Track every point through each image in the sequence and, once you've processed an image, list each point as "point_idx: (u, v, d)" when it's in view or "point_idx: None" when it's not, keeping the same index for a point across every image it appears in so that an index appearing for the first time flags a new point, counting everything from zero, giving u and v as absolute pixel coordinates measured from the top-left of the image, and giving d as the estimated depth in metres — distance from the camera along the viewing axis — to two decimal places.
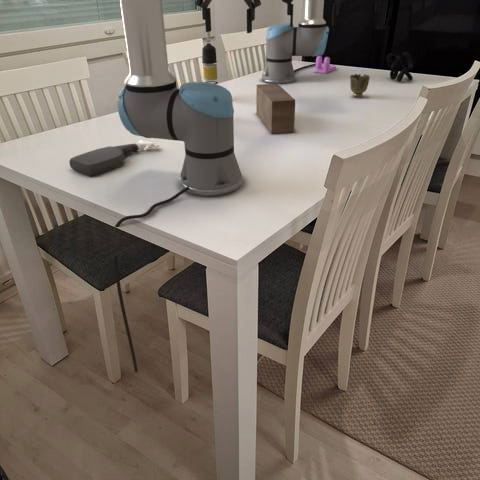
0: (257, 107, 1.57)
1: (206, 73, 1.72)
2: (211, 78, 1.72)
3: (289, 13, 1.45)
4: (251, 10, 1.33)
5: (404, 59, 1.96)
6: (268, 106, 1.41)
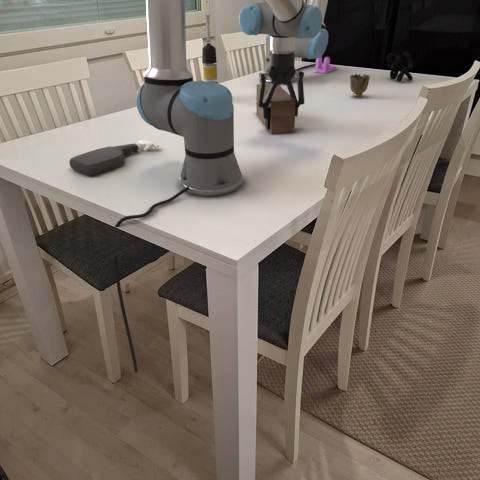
0: (257, 107, 1.57)
1: (206, 73, 1.72)
2: (211, 78, 1.72)
3: None
4: (295, 107, 1.41)
5: (404, 59, 1.96)
6: (268, 106, 1.41)
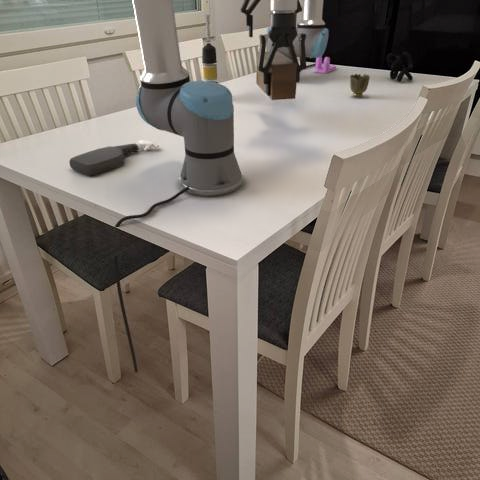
0: (257, 76, 1.51)
1: (206, 73, 1.72)
2: (211, 78, 1.72)
3: None
4: None
5: (404, 59, 1.96)
6: None
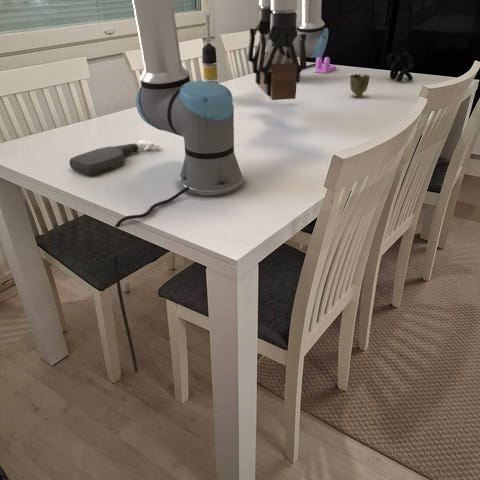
0: None
1: (206, 73, 1.72)
2: (211, 78, 1.72)
3: None
4: None
5: (404, 59, 1.96)
6: None
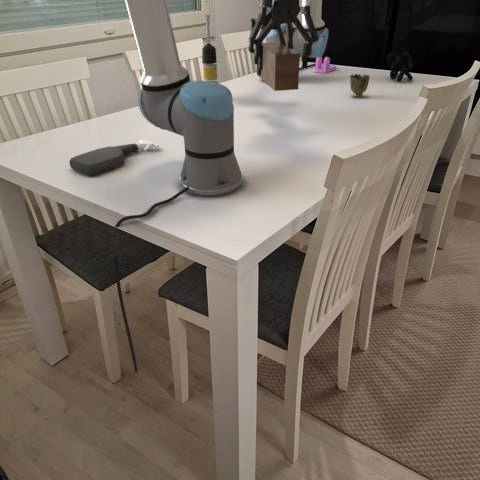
0: None
1: (206, 73, 1.72)
2: (211, 78, 1.72)
3: None
4: (309, 45, 1.29)
5: (404, 59, 1.96)
6: (271, 61, 1.34)
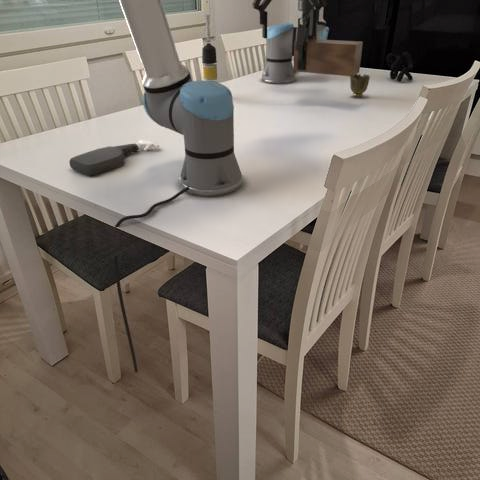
0: (297, 63, 1.63)
1: (206, 73, 1.72)
2: (211, 78, 1.72)
3: None
4: (317, 11, 1.22)
5: (404, 59, 1.96)
6: (342, 52, 1.53)
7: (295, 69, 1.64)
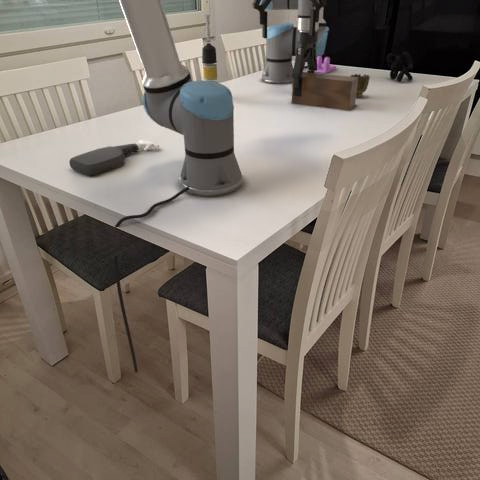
0: (296, 96, 1.69)
1: (206, 73, 1.72)
2: (211, 78, 1.72)
3: None
4: (317, 11, 1.22)
5: (404, 59, 1.96)
6: (339, 88, 1.60)
7: (293, 101, 1.71)
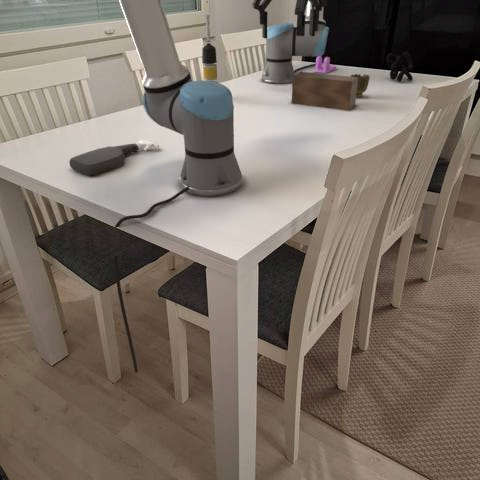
0: (296, 96, 1.69)
1: (206, 73, 1.72)
2: (211, 78, 1.72)
3: None
4: (317, 11, 1.22)
5: (404, 59, 1.96)
6: (339, 88, 1.60)
7: (293, 101, 1.71)
